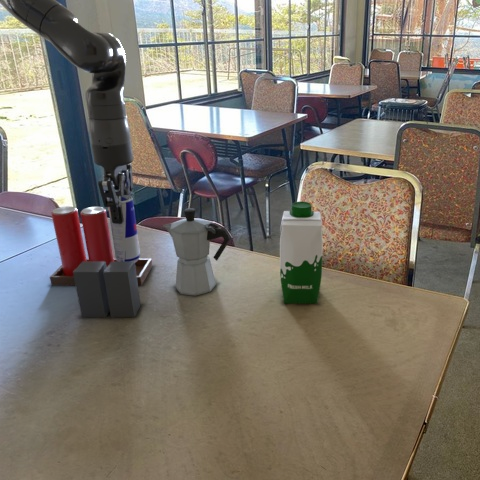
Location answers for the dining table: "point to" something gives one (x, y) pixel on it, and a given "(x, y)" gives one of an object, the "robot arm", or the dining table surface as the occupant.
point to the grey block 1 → (91, 288)
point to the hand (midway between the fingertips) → (122, 217)
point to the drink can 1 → (69, 238)
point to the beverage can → (126, 233)
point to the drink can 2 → (97, 234)
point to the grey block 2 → (122, 288)
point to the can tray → (141, 265)
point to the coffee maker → (195, 252)
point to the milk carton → (301, 254)
